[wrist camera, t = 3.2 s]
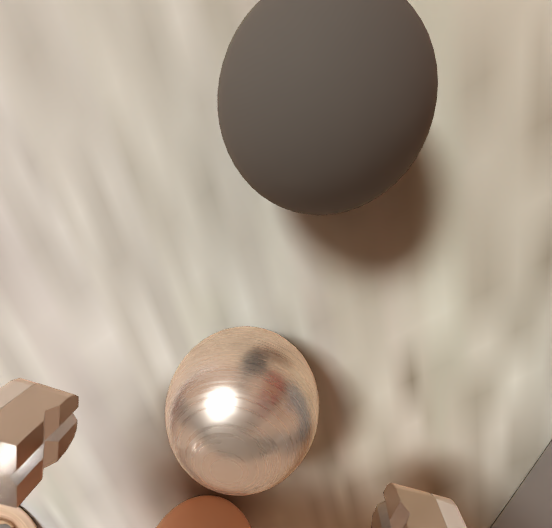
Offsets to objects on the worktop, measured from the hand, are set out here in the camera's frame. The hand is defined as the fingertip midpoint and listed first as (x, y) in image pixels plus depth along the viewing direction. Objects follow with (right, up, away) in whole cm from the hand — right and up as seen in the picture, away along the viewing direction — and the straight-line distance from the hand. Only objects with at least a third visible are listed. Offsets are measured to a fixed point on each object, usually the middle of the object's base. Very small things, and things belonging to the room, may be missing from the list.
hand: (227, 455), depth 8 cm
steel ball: (+1, +1, +3) cm, 4 cm away
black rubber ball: (+2, +9, +1) cm, 9 cm away
